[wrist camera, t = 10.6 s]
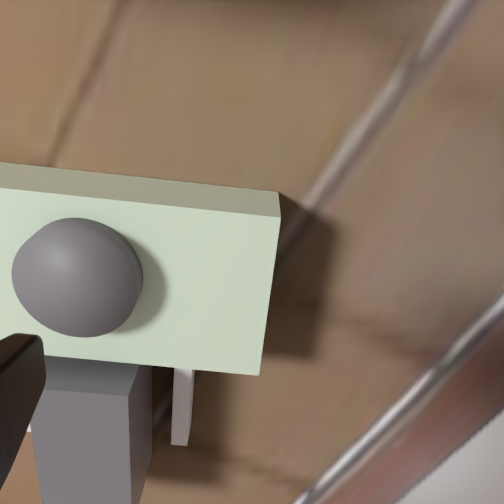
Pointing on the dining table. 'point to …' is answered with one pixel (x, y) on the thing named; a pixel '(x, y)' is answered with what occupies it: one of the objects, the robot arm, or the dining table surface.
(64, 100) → the dining table surface
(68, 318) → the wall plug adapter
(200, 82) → the dining table surface
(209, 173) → the dining table surface
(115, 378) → the tall grey prism
